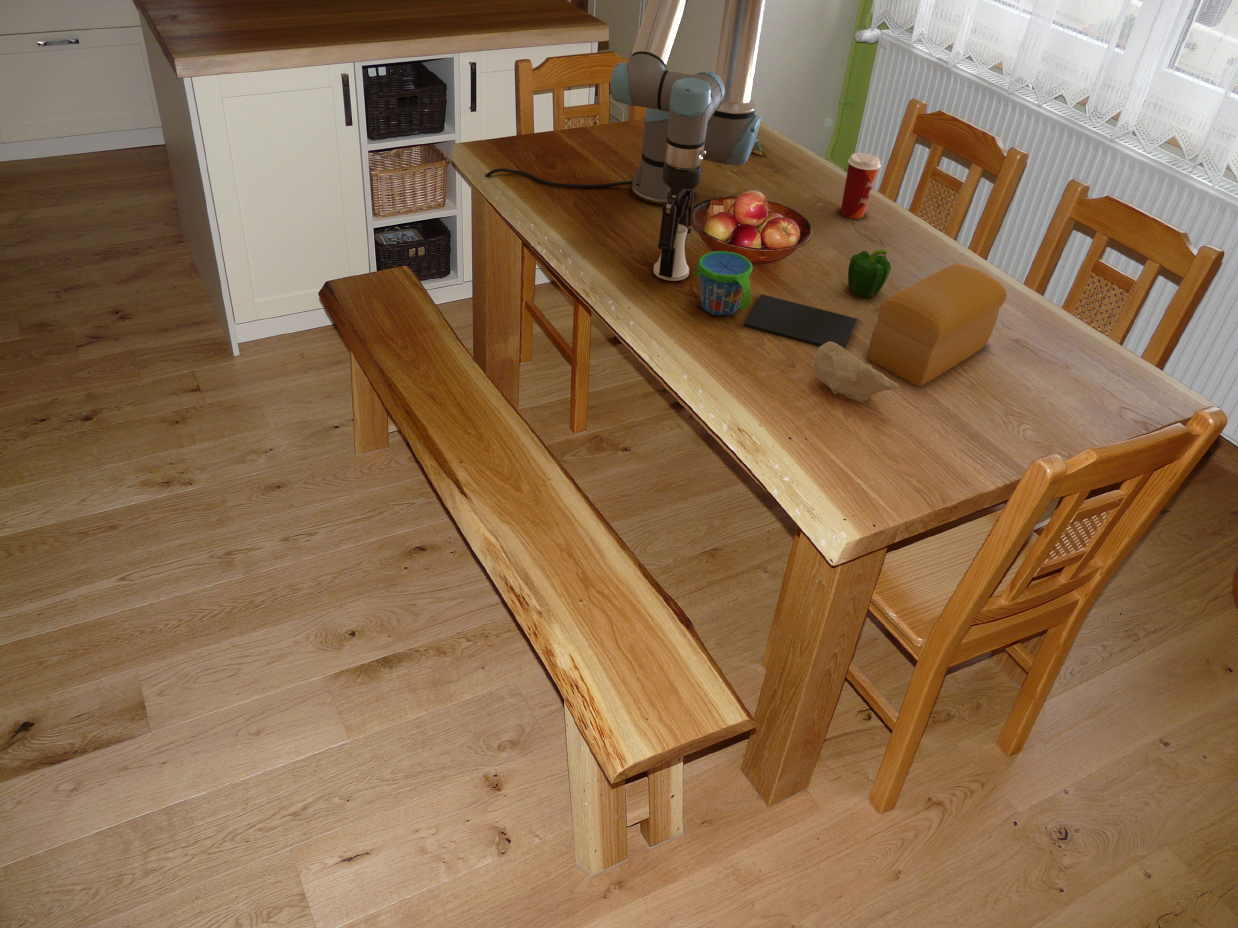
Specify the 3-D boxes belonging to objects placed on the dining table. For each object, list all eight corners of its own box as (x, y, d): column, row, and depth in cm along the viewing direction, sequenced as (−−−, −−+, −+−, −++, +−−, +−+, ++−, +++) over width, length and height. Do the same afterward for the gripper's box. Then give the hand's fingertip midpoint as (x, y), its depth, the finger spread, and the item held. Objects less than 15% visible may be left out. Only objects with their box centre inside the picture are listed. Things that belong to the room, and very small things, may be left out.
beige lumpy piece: (800, 375, 175) (803, 366, 161) (823, 343, 175) (828, 331, 160) (868, 422, 173) (877, 417, 159) (892, 389, 173) (903, 382, 158)
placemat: (743, 326, 184) (743, 323, 184) (761, 296, 193) (761, 294, 193) (842, 352, 179) (843, 349, 178) (856, 321, 188) (856, 318, 188)
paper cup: (867, 222, 224) (882, 166, 215) (835, 218, 225) (848, 161, 216) (867, 209, 230) (881, 154, 221) (836, 204, 231) (849, 149, 222)
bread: (920, 388, 171) (944, 318, 161) (863, 357, 178) (883, 288, 168) (989, 345, 184) (1015, 278, 175) (934, 317, 191) (955, 251, 182)
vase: (695, 273, 198) (701, 230, 192) (673, 284, 194) (677, 241, 187) (669, 260, 202) (673, 217, 195) (646, 271, 198) (650, 228, 191)
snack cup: (677, 294, 192) (683, 249, 185) (721, 285, 196) (728, 241, 189) (715, 332, 181) (722, 286, 175) (761, 322, 185) (769, 277, 179)
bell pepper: (840, 296, 195) (850, 253, 189) (846, 279, 201) (857, 237, 195) (879, 306, 194) (892, 262, 187) (885, 288, 200) (897, 245, 193)
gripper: (684, 185, 174) (672, 293, 189) (716, 150, 188) (702, 253, 203) (647, 177, 176) (638, 284, 191) (681, 143, 190) (670, 245, 205)
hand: (671, 268), depth 197 cm, fingers closed on vase, 6 cm apart
